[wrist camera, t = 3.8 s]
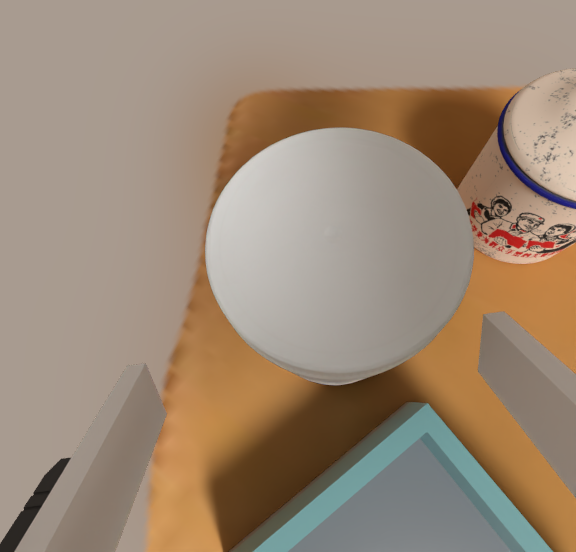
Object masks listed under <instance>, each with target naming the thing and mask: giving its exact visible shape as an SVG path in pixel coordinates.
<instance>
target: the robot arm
mask: <svg viewBox="0 0 576 552" xmlns="http://www.w3.org/2000/svg"><path fill="white" fill-rule="evenodd" d="M478 372H479V373H480V375H481V376H482V377H483V379H484V380H485V381H486V383H487V384H488V385H489V386H490V388H491V389H492V390H493V392H494V393H495V394H496V395H497V397H498V398H499V399H500V401H501V402H502V403H503V405H504V406H505V407H506V408H507V410H508V411H509V412H510V414H511V415H512V416H513V417H514V419H515V420H516V421H517V423H518V424H519V425H520V427H521V428H522V429H523V430H524V432H525V433H526V434H527V436H528V437H529V438H530V439H531V441H532V442H533V443H534V445H535V446H536V447H537V449H538V450H539V451H540V452H541V454H542V455H543V456H544V458H545V459H546V460H547V462H548V463H549V464H550V465H551V467H552V468H553V469H554V471H555V472H556V473H557V474H558V476H559V477H560V478H561V480H562V481H563V482H564V484H565V485H566V486H567V487H568V489H569V490H570V491H571V493H572V494H573V495H574V496H575V498H576V374H575V373H573V372H572V371H571V370H570V369H569V368H568V367H567V366H566V365H564V364H563V363H562V362H561V361H560V360H559V359H558V358H556V357H555V356H554V355H553V354H552V353H551V352H550V351H548V350H547V349H546V348H545V347H544V346H543V345H542V344H540V343H539V342H538V341H537V340H536V339H535V338H534V337H532V336H531V335H530V334H529V333H528V332H527V331H526V330H525V329H523V328H522V327H521V326H520V325H519V324H518V323H517V322H515V321H514V320H513V319H512V318H511V317H510V316H509V315H507V314H506V313H505V312H497V313H490V314H483V323H482V334H481V344H480V355H479V365H478ZM166 415H167V413H166V411H165V408H164V406H163V403H162V401H161V399H160V396H159V394H158V391H157V389H156V387H155V384H154V382H153V379H152V377H151V375H150V372H149V370H148V367H147V365H146V363H143V364H136V365H129V366H126V368H125V370H124V371H123V373H122V375H121V376H120V378H119V380H118V381H117V383H116V385H115V386H114V388H113V390H112V391H111V393H110V395H109V396H108V398H107V400H106V401H105V403H104V404H103V406H102V408H101V409H100V411H99V413H98V415H97V416H96V418H95V419H94V421H93V423H92V424H91V426H90V428H89V429H88V431H87V433H86V434H85V436H84V438H83V439H82V441H81V442H80V444H79V446H78V447H77V449H76V451H75V452H74V454H73V456H72V457H71V458H66V459H61V460H60V461H59V462H58V463H57V464H56V465H55V466H54V467H53V468H52V469H51V470H50V471H49V472H48V473H47V474H46V475H45V476H44V477H43V479H42V481H41V482H40V484H39V485H38V487H37V488H36V490H35V491H34V495H33V496H31V497H30V499H29V500H28V502H27V503H26V505H25V507H24V511H22V512H21V513H20V514H19V516H18V517H17V519H16V520H15V522H14V524H13V525H12V527H11V528H10V530H9V531H8V533H7V534H6V536H5V538H4V539H3V540H2V542H1V544H0V552H115V551H116V548H117V546H118V543H119V540H120V538H121V535H122V532H123V530H124V527H125V524H126V522H127V519H128V516H129V514H130V511H131V508H132V506H133V503H134V500H135V498H136V495H137V492H138V490H139V487H140V484H141V482H142V479H143V476H144V474H145V471H146V468H147V466H148V463H149V460H150V458H151V455H152V452H153V450H154V447H155V444H156V442H157V439H158V436H159V434H160V431H161V428H162V426H163V423H164V420H165V418H166Z"/></svg>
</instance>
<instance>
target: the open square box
mask: <svg viewBox="0 0 576 552" xmlns="http://www.w3.org/2000/svg"><path fill="white" fill-rule="evenodd" d="M228 552H553V551H552V550H551V548H550V547H549V546H548V545H547V544H546V543H545V541H544V540H543V539H542V538H541V537H540V535H539V534H538V533H537V532H536V531H535V530H534V528H533V527H532V526H531V525H530V524H529V522H528V521H527V520H526V519H525V518H524V517H523V515H522V514H521V513H520V512H519V511H518V509H517V508H516V507H515V506H514V505H513V504H512V502H511V501H510V500H509V499H508V498H507V496H506V495H505V494H504V493H503V492H502V491H501V489H500V488H499V487H498V486H497V485H496V483H495V482H494V481H493V480H492V479H491V478H490V476H489V475H488V474H487V473H486V472H485V470H484V469H483V468H482V467H481V466H480V465H479V463H478V462H477V461H476V460H475V459H474V457H473V456H472V455H471V454H470V453H469V452H468V450H467V449H466V448H465V447H464V446H463V444H462V443H461V442H460V441H459V440H458V439H457V437H456V436H455V435H454V434H453V433H452V431H451V430H450V429H449V428H448V427H447V426H446V424H445V423H444V422H443V421H442V420H441V418H440V417H439V416H438V415H437V414H436V413H435V411H434V410H433V409H432V408H431V407H430V405H429V404H428V403H418V402H406V403H405V404H403V405H402V406H401V407H400V408H399V409H397V410H396V411H395V412H394V413H393V414H391V415H390V416H389V417H388V418H387V419H385V420H384V421H383V422H382V423H381V424H380V425H378V426H377V427H376V428H375V429H374V430H372V431H371V432H370V433H369V434H368V435H366V436H365V437H364V438H363V439H362V440H360V441H359V442H358V443H357V444H356V445H355V446H353V447H352V448H351V449H350V450H349V451H347V452H346V453H345V454H344V455H343V456H341V457H340V458H339V459H338V460H337V461H335V462H334V463H333V464H332V465H331V466H330V467H328V468H327V469H326V470H325V471H324V472H322V473H321V474H320V475H319V476H318V477H316V478H315V479H314V480H313V481H312V482H310V483H309V484H308V485H307V486H306V487H305V488H303V489H302V490H301V491H300V492H299V493H297V494H296V495H295V496H294V497H293V498H291V499H290V500H289V501H288V502H287V503H285V504H284V505H283V506H282V507H281V508H280V509H278V510H277V511H276V512H275V513H274V514H272V515H271V516H270V517H269V518H268V519H266V520H265V521H264V522H263V523H262V524H260V525H259V526H258V527H257V528H256V529H255V530H253V531H252V532H251V533H250V534H249V535H247V536H246V537H245V538H244V539H243V540H241V541H240V542H239V543H238V544H237V545H235V546H234V547H233V548H232V549H231V550H230V551H228Z"/></svg>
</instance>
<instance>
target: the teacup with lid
mask: <svg viewBox="0 0 576 552" xmlns="http://www.w3.org/2000/svg"><path fill="white" fill-rule="evenodd" d="M457 191H458V192H459V194H460V196H461V198H462V201H463V203H464V205H465V207H466V210H467V212H468V215H469V218H470V223H471V228H472V233H473V240H474V247H475V248H476V249H477V250H479V251H480V252H482V253H483V254H485V255H487V256H489V257H491V258H494V259H496V260H500V261H503V262H508V263H515V264H528V263H535V262H539V261H543V260H546V259H548V258H550V257H552V256H554V255H556V254H557V253H559V252H561V251H562V250H564V249H565V248H567V247H569V246H570V245H572V244H574V243H575V242H576V68H573V69H566V70H560V71H556V72H553V73H550V74H547V75H545V76H542V77H540V78H538V79H536V80H534V81H532V82H531V83H529V84H528V85H526V86H525V87H524V88H522V89H521V90H520V91H519V92H517V93H516V94H515V95H514V96H513V97H512V98H511V99H510V100H509V102H508V103H507V104H506V106H505V107H504V109H503V111H502V113H501V116H500V118H499V122H498V126H497V128H496V129H495V131H494V132H493V134H492V135H491V137H490V139H489V140H488V142H487V143H486V145H485V146H484V148H483V149H482V151H481V153H480V154H479V156H478V157H477V159H476V160H475V162H474V163H473V165H472V167H471V168H470V170H469V171H468V173H467V174H466V176H465V177H464V179H463V181H462V182H461V184H460V185H459V187H458V189H457Z"/></svg>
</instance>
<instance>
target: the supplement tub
mask: <svg viewBox="0 0 576 552" xmlns="http://www.w3.org/2000/svg"><path fill="white" fill-rule="evenodd" d="M205 258H206V268H207V275H208V278H209V282H210V285H211V289H212V291H213V294H214V296H215V298H216V300H217V302H218V304H219V306H220V308H221V310H222V311H223V313H224V315H225V316H226V318H227V319H228V320H229V322H230V323H231V325H232V326H233V328H234V329H235V330H236V332H237V333H238V334H239V336H240V337H241V338H242V339H243V340H244V341H245V342H246V343H247V344H248V345H249V346H250V347H251V348H253V349H254V350H255V351H256V352H258V353H259V354H260V355H261V356H263V357H264V358H266V359H267V360H269V361H270V362H272V363H274V364H276V365H278V366H279V367H281V368H283V369H285V370H288V371H290V372H292V373H294V374H296V375H298V376H300V377H302V378H304V379H306V380H309V381H312V382H315V383H319V384H324V385H344V384H349V383H353V382H356V381H359V380H362V379H365V378H368V377H371V376H374V375H377V374H380V373H383V372H385V371H387V370H389V369H392V368H394V367H396V366H398V365H400V364H402V363H404V362H405V361H407V360H408V359H410V358H412V357H413V356H414V355H416V354H417V353H418V352H420V351H421V350H422V349H424V348H425V347H426V346H427V345H428V344H429V343H430V342H431V341H432V340H433V339H434V338H435V337H436V336H437V334H438V333H439V332H440V331H441V330H442V329H443V328H444V326H445V325H446V324H447V323H448V322H449V320H450V319H451V318H452V316H453V315H454V313H455V312H456V310H457V309H458V307H459V305H460V303H461V301H462V299H463V297H464V295H465V292H466V290H467V287H468V285H469V281H470V277H471V272H472V267H473V260H474V240H473V233H472V228H471V223H470V218H469V215H468V212H467V210H466V207H465V205H464V203H463V201H462V198H461V196H460V194H459V192H458V191H457V189H456V188H455V186H454V185H453V183H452V182H451V180H450V179H449V178H448V177H447V175H446V174H445V173H444V172H443V171H442V170H441V169H440V168H439V167H438V166H437V165H436V164H435V163H434V162H433V161H432V160H431V159H429V158H428V157H427V156H425V155H424V154H423V153H421V152H420V151H418V150H417V149H415V148H413V147H412V146H410V145H408V144H406V143H404V142H402V141H400V140H398V139H396V138H393V137H390V136H387V135H384V134H381V133H378V132H374V131H369V130H364V129H357V128H324V129H317V130H311V131H307V132H302V133H299V134H296V135H293V136H290V137H288V138H285V139H283V140H280V141H278V142H276V143H274V144H272V145H270V146H269V147H267V148H265V149H264V150H262V151H261V152H259V153H258V154H256V155H255V156H253V157H252V158H251V159H250V160H249V161H248V162H246V163H245V164H244V165H243V166H242V167H241V168H240V169H239V170H238V171H237V172H236V173H235V174H234V176H233V177H232V178H231V180H230V181H229V182H228V183H227V185H226V186H225V188H224V189H223V191H222V192H221V194H220V196H219V198H218V200H217V202H216V204H215V206H214V208H213V211H212V214H211V217H210V220H209V224H208V229H207V234H206V245H205Z"/></svg>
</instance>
